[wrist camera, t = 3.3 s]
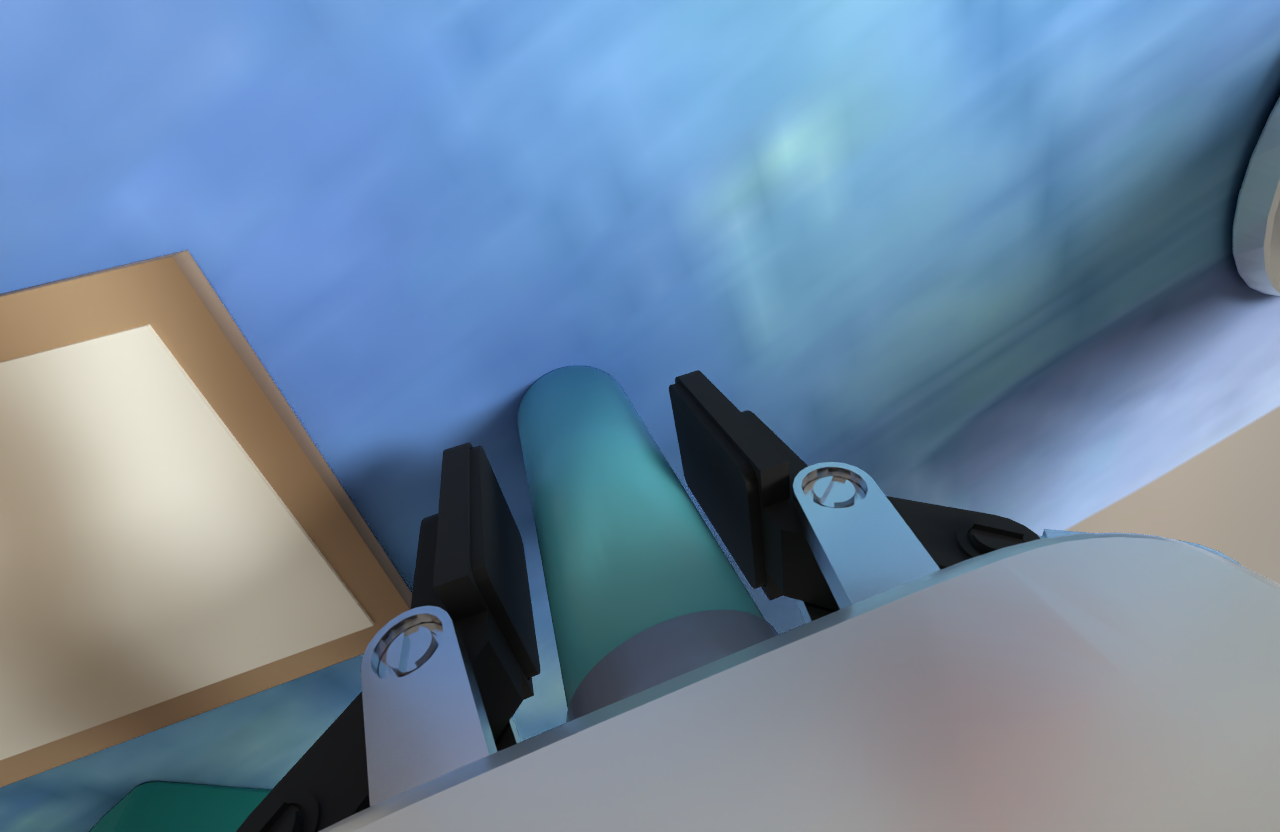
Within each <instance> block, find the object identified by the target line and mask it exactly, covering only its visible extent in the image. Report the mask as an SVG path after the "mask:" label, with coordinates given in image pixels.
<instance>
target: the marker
mask: <svg viewBox="0 0 1280 832" xmlns="http://www.w3.org/2000/svg"><path fill="white" fill-rule="evenodd" d="M517 422H518V429H519V435H520V441H521V446H522V452H523V458H524V463H525V469H526V475H527V480H528V486H529V492H530V497H531V503H532V509H533V514H534V520H535V526H536V531H537V537H538V543H539V548H540V554H541V560H542V565H543V571H544V577H545V582H546V588H547V594H548V599H549V605H550V611H551V616H552V622H553V628H554V633H555V639H556V645H557V650H558V656H559V662H560V667H561V673H562V679H563V684H564V690H565V696H566V702H567V707H568V711H567V722H570V721H572V720H575V719H577V718H579V717H582V716H584V715H586V714H589V713H591V712H594V711H596V710H598V709H601V708H603V707H605V706H608V705H610V704H613V703H615V702H618V701H620V700H622V699H625V698H627V697H630V696H632V695H634V694H637V693H639V692H642V691H644V690H646V689H649V688H651V687H654V686H656V685H658V684H661V683H663V682H666V681H668V680H670V679H673V678H675V677H678V676H680V675H683V674H685V673H687V672H690V671H692V670H695V669H697V668H699V667H702V666H704V665H707V664H709V663H712V662H714V661H716V660H719V659H721V658H724V657H726V656H728V655H731V654H733V653H736V652H738V651H741V650H743V649H745V648H748V647H750V646H753V645H755V644H758V643H760V642H762V641H765V640H767V639H770V638H772V637H775V636H777V635H778V633H777V632H776V630H775V629H774V627H773V626H772V625H770V624H769V623H768V622H767V621H766V620H765V619H764V617H763V616H762V614H761V612H760V611H759V609H758V608H757V606H756V604H755V603H754V601H753V599H752V598H751V596H750V595H749V593H748V591H747V590H746V588H745V586H744V585H743V583H742V582H741V580H740V578H739V577H738V575H737V574H736V572H735V570H734V569H733V567H732V565H731V564H730V562H729V561H728V559H727V557H726V556H725V554H724V552H723V551H722V549H721V548H720V546H719V544H718V543H717V541H716V540H715V538H714V536H713V535H712V533H711V531H710V530H709V528H708V527H707V525H706V523H705V522H704V520H703V518H702V517H701V515H700V514H699V512H698V510H697V509H696V507H695V506H694V504H693V502H692V501H691V499H690V497H689V496H688V494H687V493H686V491H685V489H684V488H683V486H682V484H681V483H680V481H679V480H678V478H677V476H676V475H675V473H674V472H673V470H672V468H671V467H670V465H669V463H668V462H667V460H666V459H665V457H664V455H663V454H662V452H661V450H660V449H659V447H658V446H657V444H656V442H655V441H654V439H653V438H652V436H651V434H650V433H649V431H648V429H647V428H646V426H645V425H644V423H643V421H642V420H641V418H640V416H639V415H638V413H637V412H636V410H635V408H634V407H633V405H632V404H631V402H630V400H629V399H628V397H627V395H626V394H625V392H624V391H623V389H622V388H621V386H620V385H619V383H618V382H617V381H616V380H615V379H614V378H613V377H611V376H610V375H609V374H607V373H605V372H604V371H601V370H599V369H597V368H593V367H588V366H567V367H563V368H559V369H556V370H554V371H551V372H549V373H547V374H545V375H544V376H542V377H541V378H539V379H538V380H537V381H536V382H535V383H534V384H533V385H532V386H531V387H530V388H529V389H528V391H527V392H526V394H525V395H524V397H523V399H522V401H521V403H520V406H519V410H518V421H517Z"/></svg>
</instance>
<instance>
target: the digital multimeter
mask: <svg viewBox="0 0 1280 832" xmlns="http://www.w3.org/2000/svg"><path fill="white" fill-rule="evenodd" d="M270 792H271V790H268V789H251V788H239V787H226V786H214V785H202V784H190V783H175V782H148V783H145V784H142V785H139V786H137V787H136V788H134V789H133V790H132V791H131V792H130V793H129V794H128V795H126V796H125V797H124V798H123V799H122V800H121V801H120V802H119V803H118V804H117V805H115V806H114V807H113V808H112V809H111V810H110V811H109V812H108V813H107V814H105V815H104V816H103V817H102V818H101V819H100V821H99V822H98V823H97V824H96V825H95V826H94V827H93V828H92V829H91V830H90V832H236V831H237V830H238V828H239V827H240V826H241V825H242V823H243V822H244V821H245V820H246V818H247V817H248V816H249V815H250V813H251V812H252V811H253V810H254V809H255V808H256V807H257V806H258V805H259V804H260V803H261V801H262V800H263V799H264V798H265V797H266V796H267V795H268V794H269V793H270Z"/></svg>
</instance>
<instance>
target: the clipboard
mask: <svg viewBox="0 0 1280 832" xmlns="http://www.w3.org/2000/svg"><path fill="white" fill-rule="evenodd" d="M411 602H412V593H411V591H410V590H409V588H408V587H407V585H406V584H405V582H404V580H403V579H402V577H401V576H400V574H399V573H398V571H397V570H396V568H395V567H394V565H393V564H392V562H391V561H390V559H389V558H388V556H387V554H386V553H385V551H384V550H383V548H382V547H381V545H380V544H379V542H378V541H377V539H376V538H375V536H374V535H373V533H372V532H371V530H370V528H369V527H368V525H367V524H366V522H365V521H364V519H363V518H362V516H361V515H360V513H359V512H358V510H357V509H356V507H355V505H354V504H353V502H352V501H351V499H350V498H349V496H348V495H347V493H346V492H345V490H344V489H343V487H342V486H341V484H340V483H339V481H338V479H337V478H336V476H335V475H334V473H333V472H332V470H331V469H330V467H329V466H328V464H327V463H326V461H325V460H324V458H323V457H322V455H321V453H320V452H319V450H318V449H317V447H316V446H315V444H314V443H313V441H312V440H311V438H310V437H309V435H308V434H307V432H306V431H305V429H304V427H303V426H302V424H301V423H300V421H299V420H298V418H297V417H296V415H295V414H294V412H293V411H292V409H291V408H290V406H289V405H288V403H287V401H286V400H285V398H284V397H283V395H282V394H281V392H280V391H279V389H278V388H277V386H276V385H275V383H274V382H273V380H272V379H271V377H270V375H269V374H268V372H267V371H266V369H265V368H264V366H263V365H262V363H261V362H260V360H259V359H258V357H257V356H256V354H255V353H254V351H253V349H252V348H251V346H250V345H249V343H248V342H247V340H246V339H245V337H244V336H243V334H242V333H241V331H240V330H239V328H238V327H237V325H236V323H235V322H234V320H233V319H232V317H231V316H230V314H229V313H228V311H227V310H226V308H225V307H224V305H223V304H222V302H221V300H220V299H219V297H218V296H217V294H216V293H215V291H214V290H213V288H212V287H211V285H210V284H209V282H208V281H207V279H206V278H205V276H204V274H203V273H202V271H201V270H200V268H199V267H198V265H197V264H196V262H195V261H194V259H193V258H192V256H191V255H190V253H189V252H188V250H186V251H181V252H177V253H173V254H169V255H164V256H160V257H156V258H152V259H147V260H143V261H139V262H135V263H130V264H126V265H122V266H118V267H113V268H109V269H105V270H100V271H96V272H92V273H88V274H83V275H79V276H75V277H71V278H66V279H62V280H58V281H54V282H49V283H45V284H41V285H37V286H32V287H28V288H24V289H20V290H15V291H11V292H7V293H3V294H0V787H3V786H6V785H9V784H11V783H14V782H17V781H19V780H22V779H25V778H28V777H30V776H33V775H36V774H38V773H41V772H44V771H47V770H49V769H52V768H55V767H57V766H60V765H63V764H66V763H68V762H71V761H74V760H76V759H79V758H82V757H85V756H87V755H90V754H93V753H95V752H98V751H101V750H104V749H106V748H109V747H112V746H114V745H117V744H120V743H123V742H125V741H128V740H131V739H133V738H136V737H139V736H142V735H144V734H147V733H150V732H152V731H155V730H158V729H161V728H163V727H166V726H169V725H171V724H174V723H177V722H180V721H182V720H185V719H188V718H190V717H193V716H196V715H199V714H201V713H204V712H207V711H209V710H212V709H215V708H218V707H220V706H223V705H226V704H228V703H231V702H234V701H237V700H239V699H242V698H245V697H247V696H250V695H253V694H256V693H258V692H261V691H264V690H266V689H269V688H272V687H275V686H277V685H280V684H283V683H285V682H288V681H291V680H294V679H296V678H299V677H302V676H304V675H307V674H310V673H313V672H315V671H318V670H321V669H323V668H326V667H329V666H332V665H334V664H337V663H340V662H342V661H345V660H348V659H351V658H353V657H356V656H359V655H361V654H364V653H365V651H366V648H367V646H368V644H369V643H370V642H371V640H372V639H373V638H374V636H375V635H376V634H377V632H378V631H379V630H381V629H382V628H383V627H384V626H385V625H386V624H387V623H388V622H389V621H391V620H392V619H394V618H395V617H397V616H398V615H400V614H402V613H404V612H406V611H409V610H411Z"/></svg>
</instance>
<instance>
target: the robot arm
mask: <svg viewBox="0 0 1280 832" xmlns="http://www.w3.org/2000/svg"><path fill="white" fill-rule="evenodd" d="M1233 255H1234V259H1235V262H1236V266H1237V270H1238V273H1239V275H1240V276H1241V277H1242V278H1243V280H1244V281H1245V282H1246V283H1247V285H1248V286H1249V287H1250V288H1253V289H1255V290H1257V291H1259V292H1262V293H1264V294H1270V295H1276V296H1280V97H1279V99H1278V101H1277V102H1276V104H1275V106H1274V108H1273V110H1272V112H1271V113H1270V115H1269V118H1268V120H1267V122H1266V124H1265V127H1264V129H1263V131H1262V133H1261V136H1260V138H1259V140H1258V142H1257V145H1256V147H1255V149H1254V151H1253V154H1252V156H1251V159H1250V162H1249V165H1248V168H1247V171H1246V174H1245V177H1244V180H1243V183H1242V186H1241V189H1240V192H1239V196H1238V201H1237V206H1236V212H1235V217H1234V222H1233ZM669 392H670V398H671V403H672V409H673V415H674V420H675V426H676V432H677V437H678V443H679V448H680V454H681V460H682V465H683V471H684V476H685V479H686V482H687V484H688V487H689V488H690V490H691V492H692V493H693V495H694V496H695V498H696V499H697V501H698V503H699V504H700V506H701V507H702V509H703V511H704V512H705V514H706V515H707V517H708V518H709V520H710V522H711V523H712V525H713V526H714V528H715V530H716V531H717V533H718V534H719V536H720V537H721V539H722V541H723V542H724V544H725V545H726V547H727V549H728V550H729V552H730V553H731V555H732V556H733V558H734V560H735V561H736V563H737V564H738V566H739V568H740V569H741V571H742V572H743V574H744V575H745V577H746V579H747V580H748V582H749V583H750V585H751V586H752V587H753V588H758V587H761V588H762V589H763V591H764V592H765V594H766V595H767V597H768V598H769V600H773V599H775V598H778V597H780V596H783V595H784V596H787V597H790V598H794V599H797V603H798V607H799V609H800V612H801V614H802V617H803V619H804V621H805V624H804V625H801V626H799V627H797V628H794V629H792V630H789V631H787V632H784V633H782V634H779V635H777V636H775V637H772V638H770V639H767V640H765V641H762V642H760V643H758V644H755V645H753V646H750V647H748V648H745V649H743V650H741V651H738V652H736V653H733V654H731V655H728V656H726V657H724V658H721V659H719V660H716V661H714V662H712V663H709V664H707V665H704V666H702V667H699V668H697V669H695V670H692V671H690V672H687V673H685V674H683V675H680V676H678V677H675V678H673V679H670V680H668V681H666V682H663V683H661V684H658V685H656V686H654V687H651V688H649V689H646V690H644V691H642V692H639V693H637V694H634V695H632V696H630V697H627V698H625V699H622V700H620V701H618V702H615V703H613V704H610V705H608V706H605V707H603V708H601V709H598V710H596V711H594V712H591V713H589V714H586V715H584V716H582V717H579V718H577V719H575V720H572V721H570V722H567V723H565V724H563V725H560V726H558V727H556V728H553V729H551V730H548V731H546V732H544V733H541V734H539V735H537V736H534V737H532V738H529V739H527V740H525V741H522V742H521V740H520V738H519V735H518V732H517V729H516V726H515V723H514V720H513V719H512V716H513V715H514V713H515V711H516V710H517V708H518V707H519V705H520V704H521V702H522V701H523V700H524V699H526V698H529V697H531V696H534V693H533V685H532V677H533V676H535V675H538V674H540V663H539V656H538V649H537V642H536V634H535V627H534V620H533V612H532V605H531V598H530V591H529V583H528V576H527V569H526V562H525V554H524V547H523V542H522V539H521V535H520V533H519V530H518V528H517V526H516V523H515V521H514V519H513V516H512V514H511V512H510V510H509V507H508V505H507V503H506V500H505V498H504V496H503V493H502V491H501V489H500V487H499V484H498V482H497V480H496V477H495V475H494V473H493V471H492V468H491V466H490V464H489V461H488V459H487V457H486V454H485V452H484V450H483V448H482V447H481V446H478V447H474V448H473V447H472V445H471V444H470V443H466V444H463V445H459V446H456V447H453V448H450V449H447V450H444V451H443V461H442V474H441V487H440V500H439V513H438V514H435V515H432V516H429V517H426V518H424V519H423V520H422V522H421V526H420V535H419V543H418V552H417V560H416V568H415V577H414V585H413V593H412V602H411V610H409V611H406V612H404V613H402V614H400V615H398V616H397V617H395V618H394V619H392V620H391V621H389V622H388V623H387V624H386V625H385V626H384V627H383V628H382V629H381V630H379V631H378V632H377V634H376V635H375V636H374V638H373V639H372V640H371V642H370V643H369V644H368V646H367V648H366V651H365V653H364V655H363V657H362V663H361V683H362V692H361V693H360V694H359V695H358V696H357V697H356V699H355V700H354V701H353V702H352V703H351V704H350V705H349V706H348V707H347V708H346V709H345V711H344V712H343V713H342V714H341V715H340V716H339V717H338V718H337V719H336V720H335V722H334V723H333V724H332V725H331V726H330V727H329V728H328V729H327V730H326V731H325V732H324V734H323V735H322V736H321V737H320V738H319V739H318V740H317V741H316V742H315V743H314V744H313V746H312V747H311V748H310V749H309V750H308V751H307V752H306V753H305V754H304V755H303V757H302V758H301V759H300V760H299V761H298V762H297V763H296V764H295V765H294V766H293V767H292V769H291V770H290V771H289V772H288V773H287V774H286V775H285V776H284V777H283V778H282V780H281V781H280V782H279V783H278V784H277V785H276V786H275V787H274V788H273V789H272V790H271V792H270V793H269V794H268V795H267V796H266V797H265V798H264V799H263V800H262V801H261V803H260V804H259V805H258V806H257V807H256V808H255V809H254V810H253V811H252V812H251V813H250V815H249V816H248V817H247V818H246V820H245V821H244V822H243V823H242V825H241V826H240V827H239V828H238V830H237V831H236V832H1280V584H1278V583H1276V582H1274V581H1272V580H1270V579H1268V578H1266V577H1264V576H1261V575H1260V574H1258V573H1256V572H1254V571H1252V570H1250V569H1248V568H1246V567H1244V566H1242V565H1240V564H1239V563H1238V562H1236V561H1235V560H1233V559H1231V558H1229V557H1228V556H1226V555H1224V554H1223V553H1221V552H1219V551H1216V550H1213V549H1210V548H1208V547H1205V546H1202V545H1200V544H1195V543H1190V542H1185V541H1179V540H1173V539H1169V538H1164V537H1159V536H1154V535H1144V534H1132V533H1085V532H1072V531H1061V530H1048V529H1044V532H1043V535H1042V536H1038V535H1037V534H1036V533H1034V532H1033V531H1031V530H1030V529H1028V528H1027V527H1025V526H1024V525H1022V524H1020V523H1017V522H1015V521H1013V520H1011V519H1008V518H1004V517H1000V516H996V515H992V514H986V513H980V512H974V511H968V510H963V509H957V508H951V507H945V506H940V505H934V504H928V503H922V502H916V501H911V500H905V499H899V498H893V497H888V496H885V494H884V493H883V492H882V490H881V489H880V488H879V486H878V485H877V484H876V482H875V481H874V480H873V478H872V477H870V476H869V475H868V474H867V473H866V472H865V471H863V470H861V469H859V468H858V467H856V466H852V465H849V464H846V463H839V462H823V463H817V464H814V465H810V466H807V465H806V464H805V463H804V462H803V461H802V460H801V459H800V458H799V457H798V456H797V455H796V454H795V453H794V452H793V451H792V450H791V449H790V448H789V447H788V446H787V445H786V444H785V443H784V442H783V441H782V440H781V439H779V438H778V437H777V436H776V435H775V434H774V433H773V432H772V431H771V430H770V429H769V428H768V427H767V426H766V425H765V424H764V423H763V422H762V421H761V420H760V419H759V418H758V417H757V416H756V415H755V414H754V413H752V412H751V411H744V412H740V411H739V410H738V409H737V408H736V407H735V406H734V405H733V404H732V403H731V402H730V401H729V400H728V399H727V398H726V397H725V396H724V395H723V394H722V393H721V392H720V391H719V390H718V389H717V388H716V387H715V386H714V385H713V384H712V383H711V382H710V381H709V380H708V379H707V378H706V377H705V376H704V375H703V374H702V373H701V372H700V371H699V370H698V371H694V372H691V373H688V374H685V375H682V376H678V377H676V379H675V384H673V385H670V386H669Z"/></svg>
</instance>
